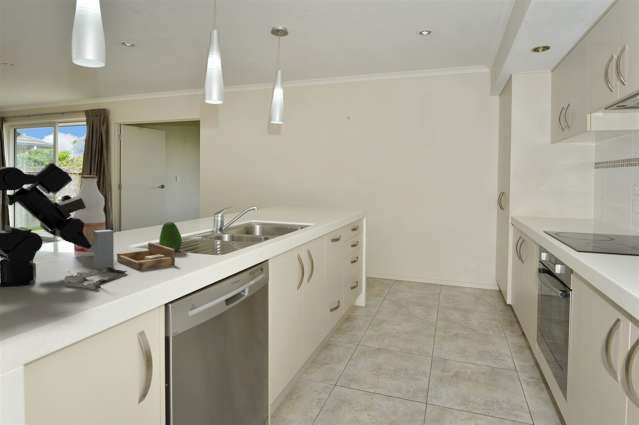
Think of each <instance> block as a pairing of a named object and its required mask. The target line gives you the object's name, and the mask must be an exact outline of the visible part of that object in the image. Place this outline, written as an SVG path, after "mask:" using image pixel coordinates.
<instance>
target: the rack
mask: <svg viewBox="0 0 639 425" xmlns="http://www.w3.org/2000/svg"><path fill="white" fill-rule="evenodd" d="M158 254H160V255H164V256H165V258H160V259H153V260H145V257H146V256H152V255H158ZM175 255H176V252H175V249H172V248H168V247H165V246H162V245H160V244H159V243H158V244H157V243H154V242H147V249H145V250H137V251H136V250H135V251H127V252H120V253H117V254H116V262H118V263H121V264H123V265H125V266H128V267H130V268H132V269H135V270H137V271H145V270H153V269H159V268H166V267H171V266H175V264H176V263H175V262H176V259H175V258H176V256H175Z"/></svg>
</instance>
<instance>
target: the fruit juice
mask: <svg viewBox="0 0 639 425" xmlns="http://www.w3.org/2000/svg"><path fill="white" fill-rule="evenodd" d="M80 180H81V185H80V188H79V191H78V193H76V195H75V196H74V197H77V196H78V197H81V198H82V200H83V202H84V204H85V206H86V208H85V209H80V210H78V211H75V212H73V213H74V214H73V217H76V218H79V219H80V220H81V221H83V222H84V223H85V224H84V228H83V233H84V235H85V237H86V238H87V240H88V241H89V243H90V244H91V248H90V249H87V248H84V247H81V246H79V245H76V244H73V247H74V248H73V253H74V257H75V258H79V257H93V231H98V230H106V213H105V211H104V207H105V203H106V202H105V201H106V200H105V197H104V196H103V195H102V193H101V192H100V190H99V188H98V184H97V183H98V182H97V181H98V175H89V174H88V175H87V174H85V175H80Z"/></svg>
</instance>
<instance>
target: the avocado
mask: <svg viewBox="0 0 639 425" xmlns="http://www.w3.org/2000/svg"><path fill="white" fill-rule="evenodd" d="M182 240H183V239H182V236H181V232H180V230H179V228H178V226H177V225H176V224H175V222H173V221H168V222H164V224H163V225H162V227H161V230H160V235H159V243H158V245H162V246H165V247H168V248H172V249H175V253H178V252H179V251H180V249H181V248H182V244H183V241H182Z"/></svg>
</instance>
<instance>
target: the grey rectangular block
mask: <svg viewBox="0 0 639 425" xmlns="http://www.w3.org/2000/svg"><path fill="white" fill-rule="evenodd" d="M114 250H115V249H114V230H111V229H105V230H98V231H93V256H92V257H93V258H92V259H93V269H95V270H102V269H105V268H106V267H112V268H114V266H115V265H114V264H115V263H114V258H115V256H114V254H115V253H114Z"/></svg>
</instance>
